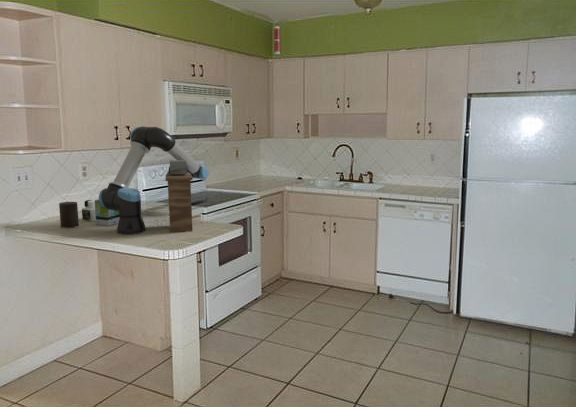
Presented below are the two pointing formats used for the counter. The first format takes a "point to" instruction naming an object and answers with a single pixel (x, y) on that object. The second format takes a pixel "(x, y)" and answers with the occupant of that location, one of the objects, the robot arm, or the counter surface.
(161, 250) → the counter surface
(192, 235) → the counter surface
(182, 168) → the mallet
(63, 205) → the pillar candle
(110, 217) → the tea box
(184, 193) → the pedestal
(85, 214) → the medicine bottle
